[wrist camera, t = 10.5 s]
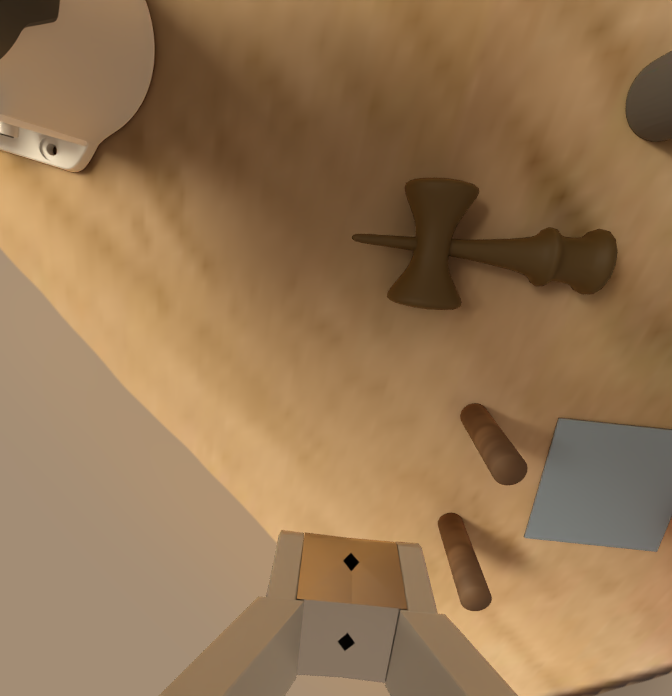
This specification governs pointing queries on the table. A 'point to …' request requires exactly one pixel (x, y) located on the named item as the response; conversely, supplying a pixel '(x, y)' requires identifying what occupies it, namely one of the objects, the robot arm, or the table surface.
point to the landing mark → (605, 486)
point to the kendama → (485, 249)
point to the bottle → (652, 101)
